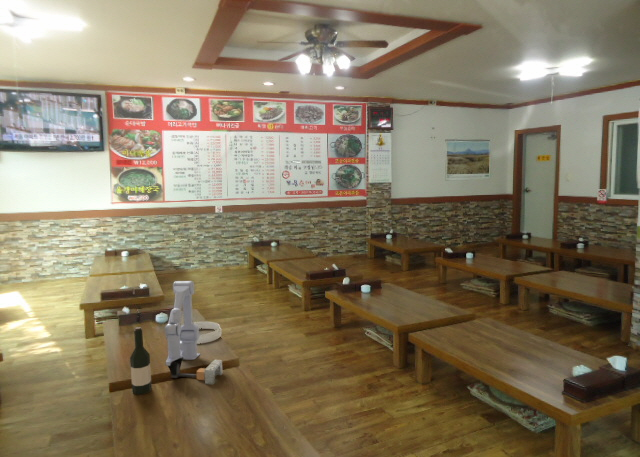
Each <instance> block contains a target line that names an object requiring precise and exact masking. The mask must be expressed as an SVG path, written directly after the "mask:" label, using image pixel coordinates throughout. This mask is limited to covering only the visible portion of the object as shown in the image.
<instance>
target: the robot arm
mask: <svg viewBox="0 0 640 457" xmlns="http://www.w3.org/2000/svg"><path fill="white" fill-rule="evenodd" d="M194 282H195V281H193V280H175V281H174V282H173V283H172V291H173V294H174V295H175V296H174V304H173V309H171V310H170V314H169V319H168V323H167V324H165V326H164V334H165V338H166V340H167V352H168V354H167V355H168V356H167V359H166V361H165V366H167V367H168V369H169V372H170V376H171V375H172V376H176V373H177V365H178V364H179V367H180V368H181V366H182V362H183V360H189V361H190V360H193V361H194V360H195V359H197V358H198V357H199V356H200V355H201V353H199V352H198V346H197V345H198V344H197V340H198V339H199V335H201V333H200V329H199V328H198V326H197V325H196V324H194V320H193V318H194V317H193V316H194V315H193V314H194V313H193V298H192V295H195V292H196V291H195V290H196V289H195V288H196V287H195V283H194ZM182 317H183V324H182Z"/></svg>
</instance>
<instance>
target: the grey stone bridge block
mask: <svg viewBox="0 0 640 457" xmlns="http://www.w3.org/2000/svg"><path fill="white" fill-rule="evenodd" d="M223 373H224V372H223V360H222V359H213V361H212V362H211V363H210V364H209V365H208V366H207V367H206V368H205V380H204V382H205V383H204V385H215V383H216V376H217V375H220V376H222V375H223Z"/></svg>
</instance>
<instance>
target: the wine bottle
mask: <svg viewBox="0 0 640 457" xmlns="http://www.w3.org/2000/svg"><path fill="white" fill-rule="evenodd" d="M133 334H134V350H133V351H132V353H131V355H130V357H129V362H130V363H129V364H130V374H131V375H130V377H131V392H133V393H132V394H134V395H135V394H136V396H138V395H141V396H142V395H144V394H147V393H150V392H151V391H152V387H153V386H152V376H151V375H152V370H151V356H150V353H149V352H148V351H147V349H146V348H145V347H144V338H143V328H142V327H141V326H137V327H134V330H133Z"/></svg>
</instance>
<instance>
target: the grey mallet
mask: <svg viewBox="0 0 640 457" xmlns="http://www.w3.org/2000/svg"><path fill="white" fill-rule="evenodd" d="M205 369H206V368H205V367H203V368H202V367H201V368H198V369H197V370H196V373H186V372H185V373H182V372H181V367H179V364H178V365H177V373H176V376H172V375H171V374H170V376H171V378H173V379H178V378H179V377H184V378H185V377H189V378H196V380H198V381H205Z"/></svg>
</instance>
